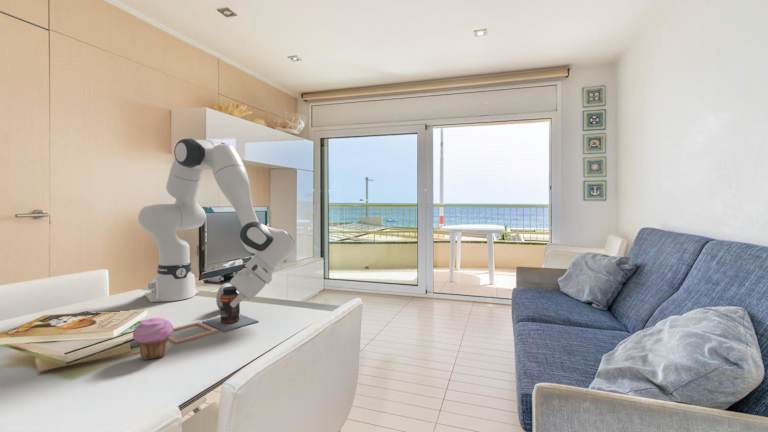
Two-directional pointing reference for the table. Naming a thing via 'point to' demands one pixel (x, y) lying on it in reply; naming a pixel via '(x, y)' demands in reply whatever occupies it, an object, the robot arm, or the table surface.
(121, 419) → the table surface
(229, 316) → the supplement bottle
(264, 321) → the table surface
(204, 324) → the frame
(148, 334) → the cupcake
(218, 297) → the white toy tire
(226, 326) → the mat
